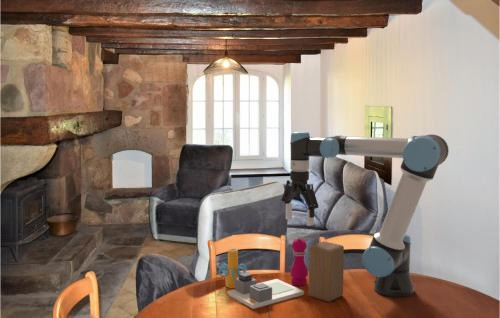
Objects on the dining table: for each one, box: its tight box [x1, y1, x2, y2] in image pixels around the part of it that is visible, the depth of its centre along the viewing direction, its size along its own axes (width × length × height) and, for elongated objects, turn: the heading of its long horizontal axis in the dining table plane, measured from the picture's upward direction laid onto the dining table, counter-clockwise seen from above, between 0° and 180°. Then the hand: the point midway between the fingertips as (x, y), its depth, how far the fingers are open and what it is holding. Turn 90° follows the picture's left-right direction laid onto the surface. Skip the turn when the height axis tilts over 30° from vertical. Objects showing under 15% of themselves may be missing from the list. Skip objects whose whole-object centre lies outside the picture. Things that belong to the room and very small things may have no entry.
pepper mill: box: [289, 235, 309, 286], centre depth 210 cm, size 7×7×20 cm
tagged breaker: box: [254, 284, 268, 290], centre depth 190 cm, size 4×4×4 cm
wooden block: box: [308, 241, 345, 303], centre depth 196 cm, size 10×10×20 cm
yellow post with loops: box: [218, 248, 248, 289], centre depth 207 cm, size 12×10×15 cm
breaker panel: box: [227, 277, 305, 310], centre depth 198 cm, size 17×24×6 cm
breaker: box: [239, 271, 253, 282], centre depth 198 cm, size 4×4×4 cm
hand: (299, 222), depth 208 cm, fingers open, 13 cm apart
